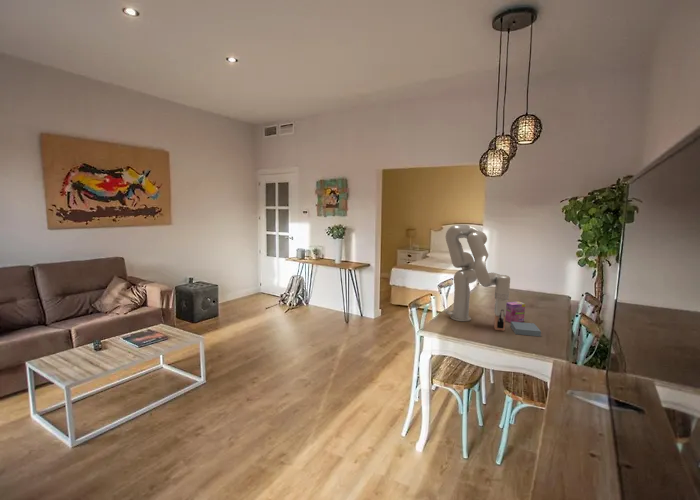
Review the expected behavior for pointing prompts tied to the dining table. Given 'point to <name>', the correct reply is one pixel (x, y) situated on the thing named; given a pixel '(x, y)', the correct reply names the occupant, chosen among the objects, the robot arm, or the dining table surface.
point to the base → (525, 329)
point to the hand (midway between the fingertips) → (499, 326)
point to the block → (497, 323)
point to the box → (515, 312)
